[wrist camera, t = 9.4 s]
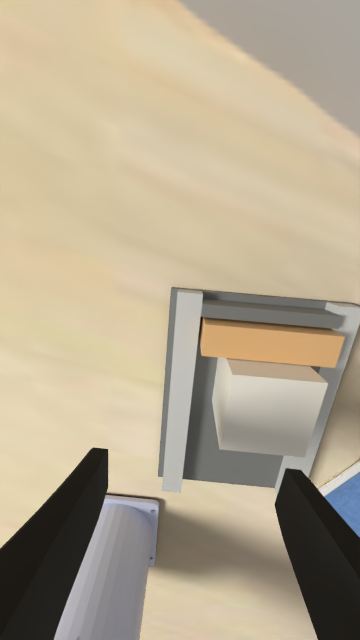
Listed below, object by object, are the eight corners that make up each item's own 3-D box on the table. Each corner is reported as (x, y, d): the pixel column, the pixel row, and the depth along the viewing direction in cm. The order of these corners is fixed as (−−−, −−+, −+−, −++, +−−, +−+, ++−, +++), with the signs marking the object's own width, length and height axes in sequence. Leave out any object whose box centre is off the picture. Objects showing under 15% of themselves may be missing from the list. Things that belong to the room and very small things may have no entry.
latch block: (312, 350, 15) (334, 368, 13) (199, 340, 16) (201, 355, 13) (319, 323, 15) (345, 336, 12) (202, 313, 15) (205, 324, 13)
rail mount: (295, 483, 20) (308, 513, 18) (158, 470, 20) (155, 497, 18) (351, 302, 15) (381, 311, 13) (171, 287, 15) (168, 292, 13)
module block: (275, 406, 17) (304, 457, 13) (211, 400, 17) (219, 449, 13) (289, 347, 16) (328, 383, 11) (220, 341, 16) (232, 374, 11)
